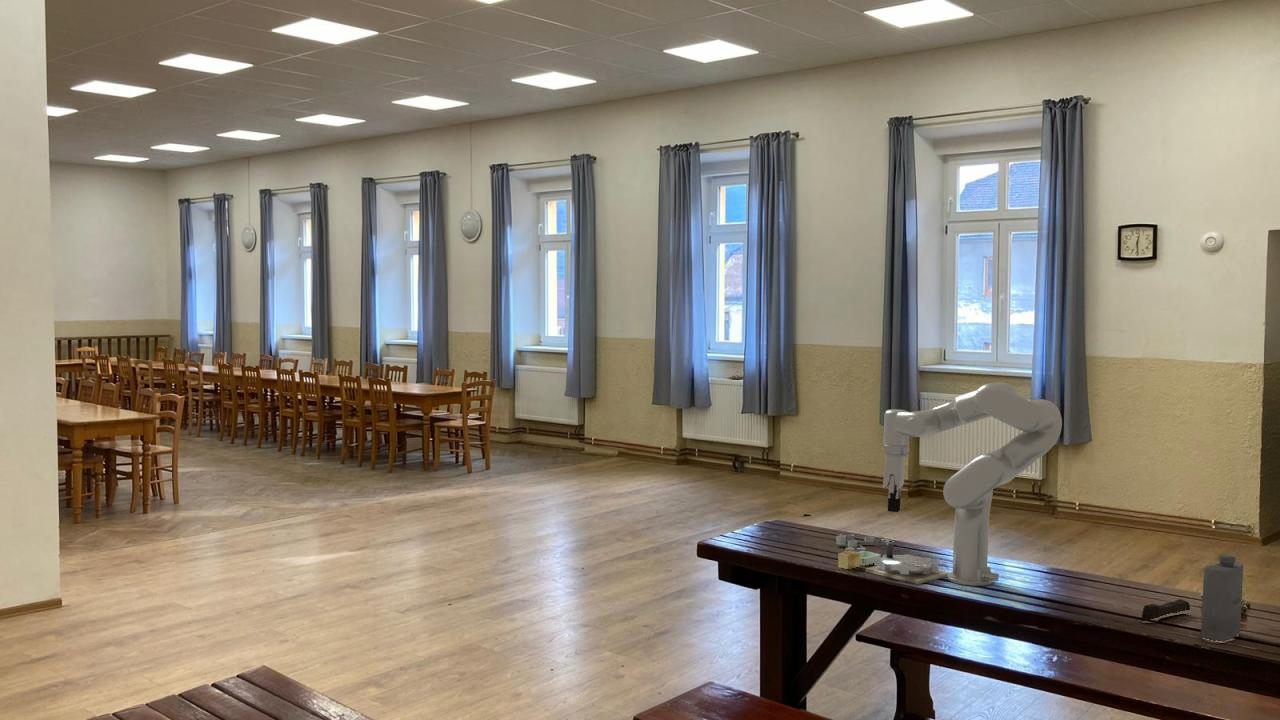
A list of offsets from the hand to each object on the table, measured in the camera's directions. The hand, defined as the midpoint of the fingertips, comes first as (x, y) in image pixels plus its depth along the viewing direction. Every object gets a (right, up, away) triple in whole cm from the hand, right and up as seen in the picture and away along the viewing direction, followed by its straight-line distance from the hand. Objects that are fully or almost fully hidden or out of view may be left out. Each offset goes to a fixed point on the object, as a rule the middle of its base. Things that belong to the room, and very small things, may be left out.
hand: (893, 510), depth 321 cm
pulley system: (-5, -17, +29) cm, 33 cm away
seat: (-8, -17, +6) cm, 19 cm away
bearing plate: (+2, -18, -8) cm, 19 cm away
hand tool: (+57, -21, -50) cm, 79 cm away
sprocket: (+2, -16, -8) cm, 18 cm away
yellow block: (-14, -17, -1) cm, 22 cm away
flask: (+64, -22, -65) cm, 93 cm away
